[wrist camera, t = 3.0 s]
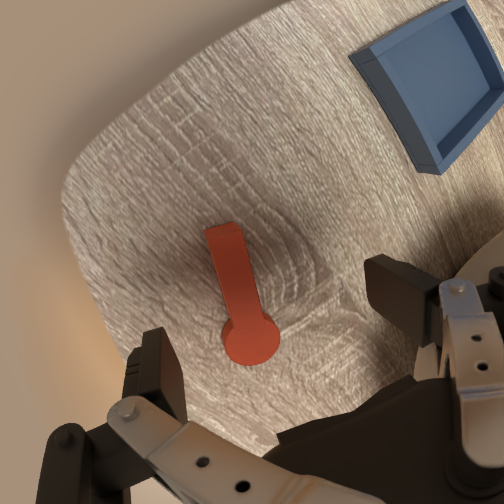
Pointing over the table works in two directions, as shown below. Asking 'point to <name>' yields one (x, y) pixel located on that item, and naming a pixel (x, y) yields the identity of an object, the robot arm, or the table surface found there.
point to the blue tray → (435, 82)
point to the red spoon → (241, 299)
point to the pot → (477, 271)
